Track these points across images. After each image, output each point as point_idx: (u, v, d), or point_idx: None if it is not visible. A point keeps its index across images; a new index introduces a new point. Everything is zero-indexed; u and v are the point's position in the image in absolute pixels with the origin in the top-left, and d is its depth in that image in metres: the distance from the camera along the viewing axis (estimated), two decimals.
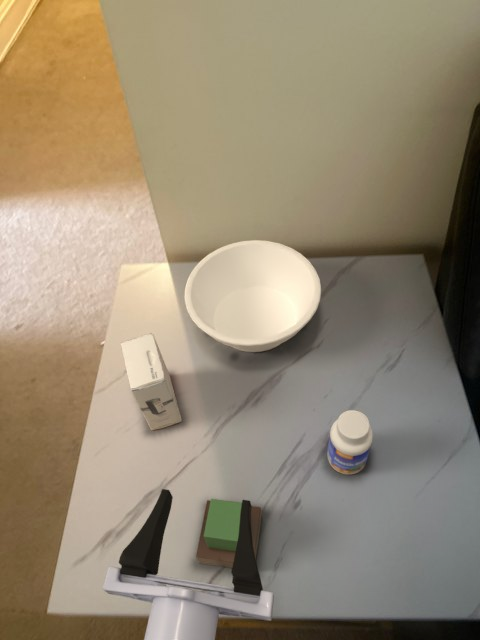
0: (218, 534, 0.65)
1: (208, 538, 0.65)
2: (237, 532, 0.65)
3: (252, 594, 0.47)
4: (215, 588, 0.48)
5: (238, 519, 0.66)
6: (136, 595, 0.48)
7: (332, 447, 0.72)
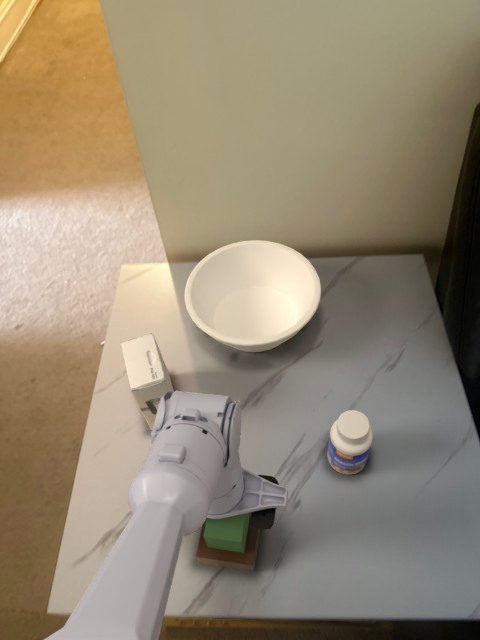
0: (218, 534, 0.65)
1: (208, 538, 0.65)
2: (237, 532, 0.65)
3: None
4: None
5: (238, 519, 0.66)
6: None
7: (332, 447, 0.72)
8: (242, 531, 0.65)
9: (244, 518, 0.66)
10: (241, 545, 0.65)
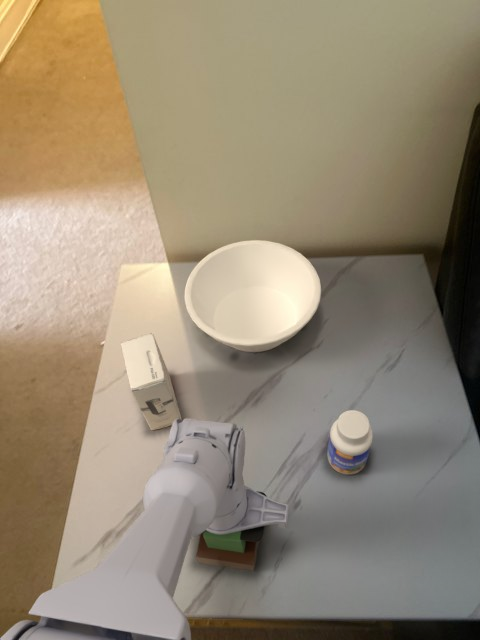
0: (217, 534, 0.65)
1: (208, 538, 0.65)
2: (237, 532, 0.65)
3: None
4: None
5: None
6: None
7: (332, 447, 0.72)
8: None
9: None
10: (241, 545, 0.65)
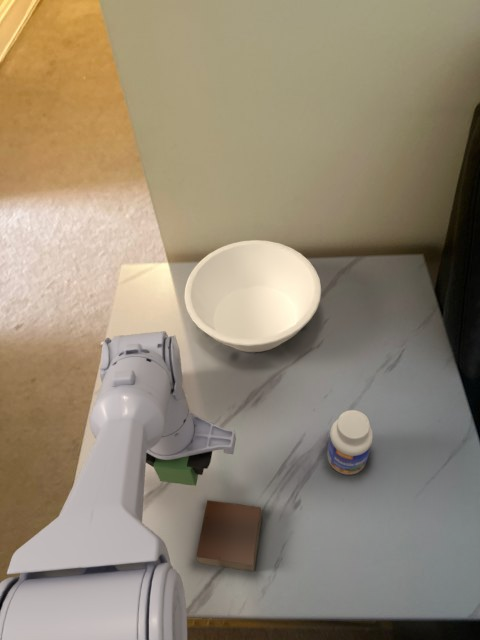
0: (167, 464, 0.65)
1: (158, 469, 0.65)
2: None
3: None
4: None
5: None
6: None
7: (332, 447, 0.72)
8: None
9: None
10: (191, 476, 0.66)
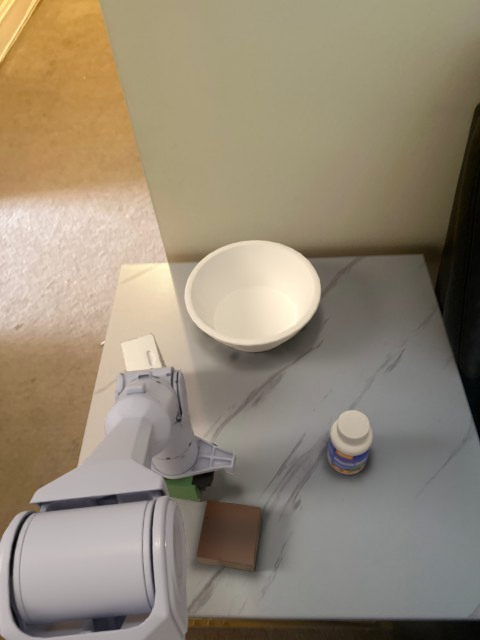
0: (173, 482, 0.71)
1: None
2: (191, 480, 0.71)
3: None
4: None
5: None
6: None
7: (332, 447, 0.72)
8: None
9: None
10: (195, 492, 0.71)
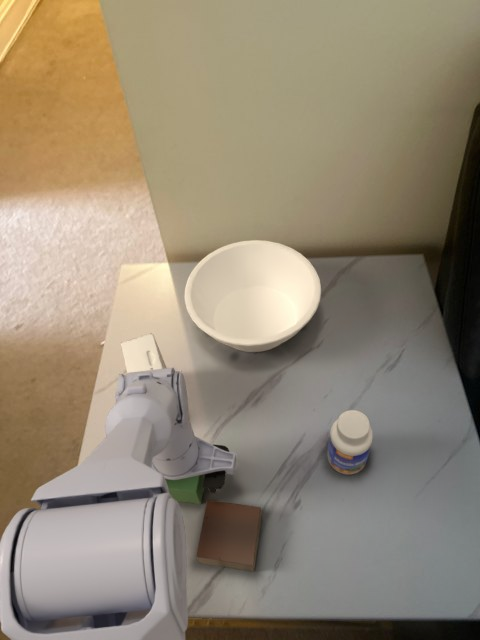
0: (175, 485, 0.72)
1: None
2: (192, 484, 0.72)
3: None
4: None
5: None
6: None
7: (332, 447, 0.72)
8: (197, 483, 0.72)
9: None
10: (196, 496, 0.72)
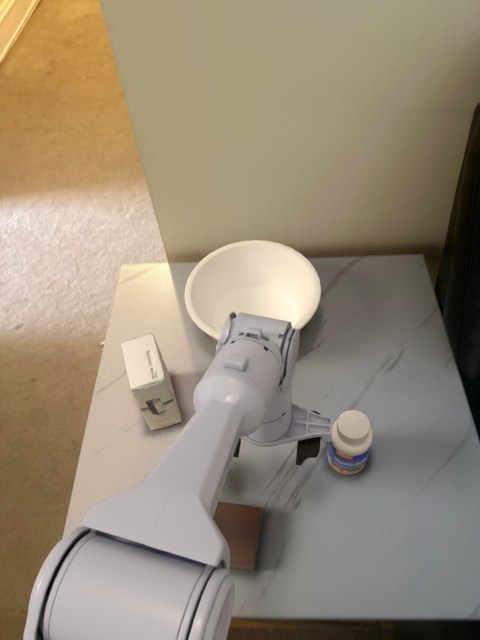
0: None
1: None
2: None
3: None
4: None
5: None
6: None
7: (332, 447, 0.72)
8: None
9: None
10: None
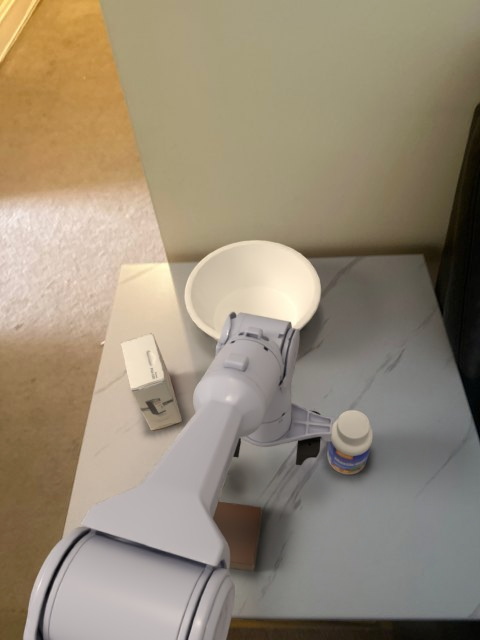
0: None
1: None
2: None
3: None
4: None
5: None
6: None
7: (332, 447, 0.72)
8: None
9: None
10: None
